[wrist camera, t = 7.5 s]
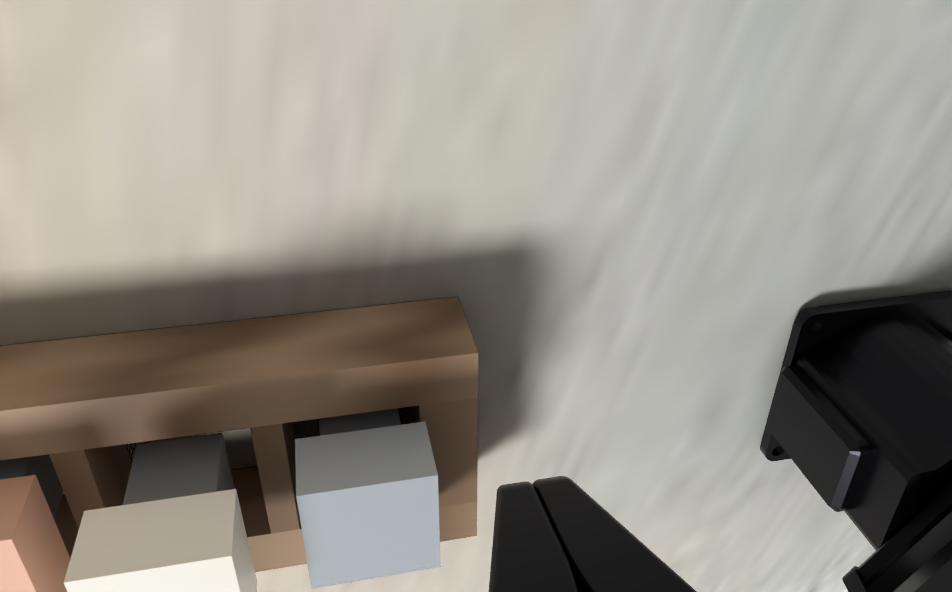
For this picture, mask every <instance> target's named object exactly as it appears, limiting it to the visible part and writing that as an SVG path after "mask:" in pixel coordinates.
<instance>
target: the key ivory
mask: <svg viewBox="0 0 952 592" xmlns="http://www.w3.org/2000/svg"><path fill="white" fill-rule="evenodd" d="M64 585H65V587H66V589H67V592H257V579H256V575H255V570H254V566H253V562H252V557H251V553H250V548H249V544H248V539H247V535H246V530H245V526H244V521H243V517H242V513H241V508H240V504H239V499H238V495H237V490H236V489H235V487H234V483H233V478H232V474H231V470H230V465H229V461H228V456H227V452H226V447H225V443H224V439H223V434H222V433H217V434H209V435H202V436H194V437H186V438H179V439H171V440H164V441H156V442H149V443H141V444H137V445H136V449H135V454H134V458H133V462H132V467H131V471H130V475H129V479H128V484H127V488H126V492H125V497H124V501H123V505H121V506H114V507H107V508H101V509H94V510H87V511H84V513H83V517H82V520H81V524H80V527H79V531H78V534H77V538H76V541H75V545H74V548H73V552H72V555H71V559H70V562H69V566H68V569H67V573H66V576H65V580H64Z"/></svg>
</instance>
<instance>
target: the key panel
mask: <svg viewBox="0 0 952 592" xmlns="http://www.w3.org/2000/svg"><path fill="white" fill-rule="evenodd" d="M403 407H409V416H410V423H418V422H426V426H427V430H428V435H429V439H430V443H431V447H432V452H433V456H434V460H435V465H436V469H437V473H438V495H439V531H440V542H441V541H447V540H453V539H459V538H465V537H471V536H477V453H478V350H477V348H476V345H475V342H474V339H473V336H472V334H471V331H470V328H469V325H468V323H467V320H466V317H465V314H464V311H463V309H462V306H461V303H460V300H459V297H452V298H443V299H434V300H424V301H415V302H406V303H397V304H387V305H378V306H369V307H359V308H350V309H341V310H331V311H322V312H313V313H303V314H294V315H285V316H275V317H266V318H257V319H247V320H238V321H229V322H219V323H210V324H201V325H192V326H182V327H173V328H164V329H154V330H145V331H136V332H126V333H117V334H108V335H98V336H89V337H80V338H70V339H61V340H52V341H42V342H33V343H24V344H15V345H5V346H0V461H1V460H9V459H16V458H24V457H31V456H39V455H47V454H49V456H50V458H51V461H52V463H53V466H54V469H55V471H56V474H57V476H58V479H59V481H60V484H61V486H62V489H63V491H64V494H63V495H62V498H61V501H60V504H59V507H58V510H57V513H56V516H55V519H54V520H55V523H56V525H57V528H58V530H59V533H60V535H61V537H62V540H63V542H64V545H65V547H66V549H67V552H68V554H69V557H70V559H71V555H72V552H73V548H74V545H75V541H76V538H77V534H78V531H79V527H80V524H81V520H82V517H83V513H84V511H87V510H94V509H101V508H107V507H114V506H121V505H123V501H124V497H125V492H126V488H127V484H128V479H129V475H130V471H131V467H132V462H131V459H130V456H129V453H128V450H127V447H126V444H130V443H138V442H145V441H153V440H160V439H168V438H176V437H183V436H191V435H198V434H206V433H214V432H221V431H229V430H236V429H244V428H250V430H251V435H252V440H253V445H254V450H255V455H256V461H257V466H258V467H252V468H244V469H237V470H231V474H232V478H233V483H234V487H235V489H236V490H237V495H238V499H239V504H240V508H241V513H242V517H243V521H244V526H245V530H246V535H247V539H248V544H249V548H250V553H251V557H252V562H253V566H254V570H255V572H259V571H265V570H271V569H277V568H283V567H289V566H295V565H301V564H307V558H306V552H305V546H304V540H303V534H302V528H301V522H300V516H299V510H298V504H297V498H296V460H295V438H294V431H293V425H292V422H297V421H305V420H312V419H320V418H327V417H335V416H342V415H350V414H358V413H365V412H373V411H380V410H388V409H396V408H403Z"/></svg>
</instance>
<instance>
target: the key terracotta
mask: <svg viewBox="0 0 952 592" xmlns="http://www.w3.org/2000/svg"><path fill="white" fill-rule="evenodd" d="M63 492H64V491H63V489H62V486H61V484H60V481H59V479H58V476H57V474H56V471H55V469H54V466H53V463H52V461H51V458H50V456H49V454H47V455H39V456H31V457H24V458H16V459H9V460H1V461H0V592H67V589H66V587H65V585H64V580H65V576H66V573H67V569H68V566H69V562H70V557H69V554H68V552H67V549H66V547H65V545H64V542H63V540H62V537H61V535H60V533H59V530H58V528H57V525H56V523H55V520H54V519H55V516H56V513H57V510H58V507H59V504H60V501H61V498H62V495H63Z"/></svg>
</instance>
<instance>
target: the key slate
mask: <svg viewBox="0 0 952 592" xmlns="http://www.w3.org/2000/svg"><path fill="white" fill-rule="evenodd" d="M319 426H320V436H315V437H307V438H300V439H295V460H296V498H297V504H298V510H299V516H300V522H301V528H302V534H303V540H304V546H305V552H306V558H307V564H308V570H309V576H310V582H311V588H312V589H313V588H319V587H325V586H330V585H336V584H342V583H348V582H354V581H360V580H366V579H372V578H377V577H383V576H389V575H395V574H401V573H407V572H413V571H418V570H424V569H430V568H436V567H441V566H440V531H439V495H438V473H437V469H436V465H435V460H434V456H433V452H432V447H431V443H430V439H429V435H428V430H427V426H426V422H418V423H410V424H403V425H401V423H400V418H399V413H398V408H396V409H388V410H380V411H373V412H365V413H358V414H350V415H342V416H335V417H327V418H320V419H319Z"/></svg>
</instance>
